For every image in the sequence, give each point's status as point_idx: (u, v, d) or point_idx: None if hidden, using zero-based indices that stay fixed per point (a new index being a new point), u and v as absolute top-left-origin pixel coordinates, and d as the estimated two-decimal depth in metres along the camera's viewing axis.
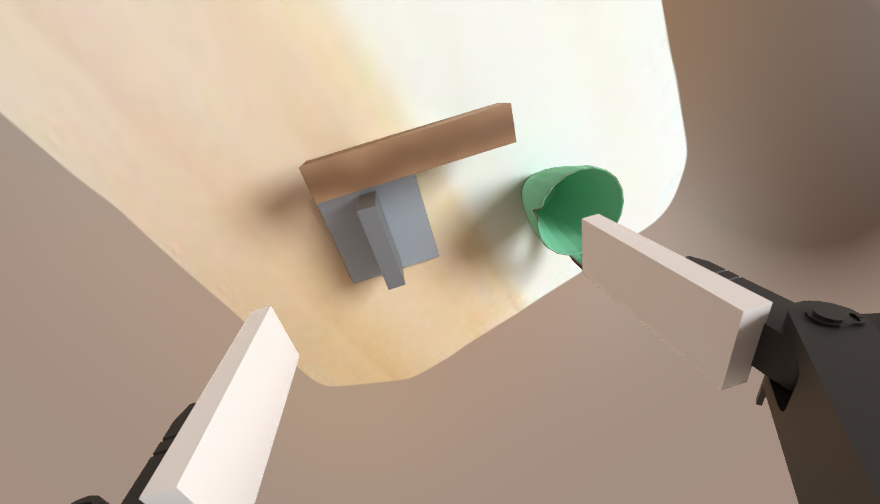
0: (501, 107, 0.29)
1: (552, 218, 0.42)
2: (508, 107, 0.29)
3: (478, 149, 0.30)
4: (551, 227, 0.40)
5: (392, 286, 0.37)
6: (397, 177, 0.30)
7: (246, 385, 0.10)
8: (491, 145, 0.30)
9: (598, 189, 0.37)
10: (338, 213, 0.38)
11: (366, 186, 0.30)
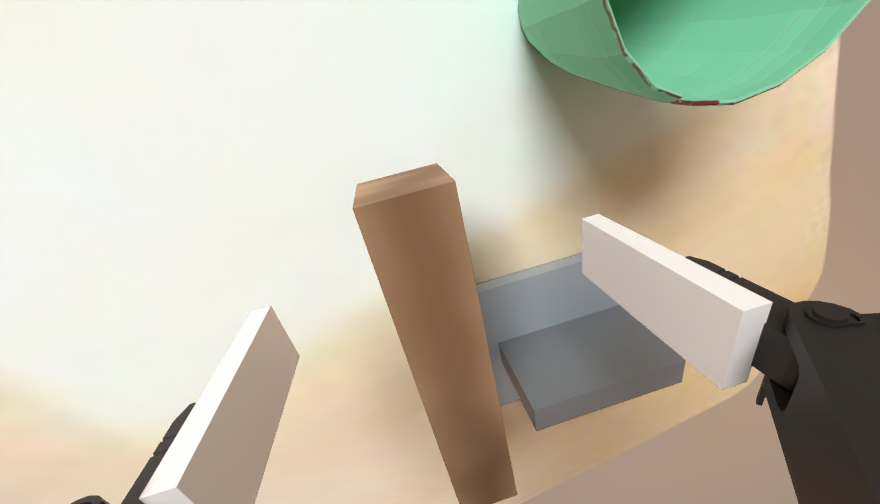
0: (364, 233, 0.11)
1: None
2: (363, 213, 0.11)
3: (464, 278, 0.12)
4: None
5: (678, 377, 0.20)
6: (498, 411, 0.16)
7: (246, 385, 0.10)
8: (458, 248, 0.12)
9: None
10: None
11: (504, 447, 0.17)
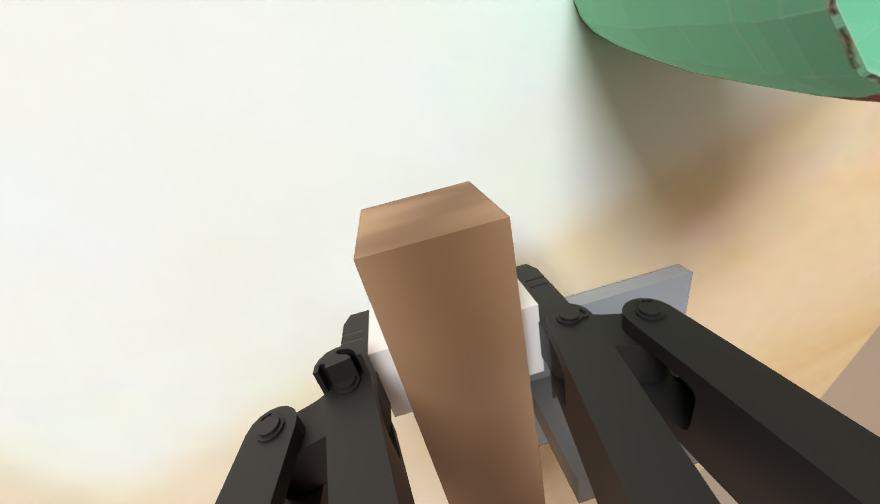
0: (372, 293, 0.07)
1: None
2: (370, 266, 0.07)
3: (512, 347, 0.09)
4: None
5: None
6: (541, 499, 0.12)
7: None
8: (506, 309, 0.08)
9: None
10: None
11: None
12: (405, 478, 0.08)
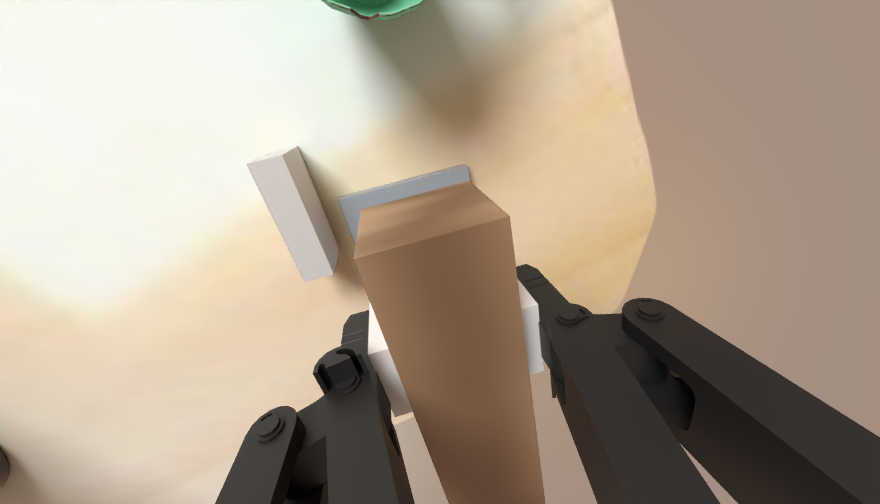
0: (371, 293, 0.07)
1: None
2: (370, 265, 0.07)
3: (512, 347, 0.09)
4: None
5: None
6: (541, 499, 0.12)
7: None
8: (506, 309, 0.08)
9: None
10: None
11: None
12: (405, 478, 0.08)
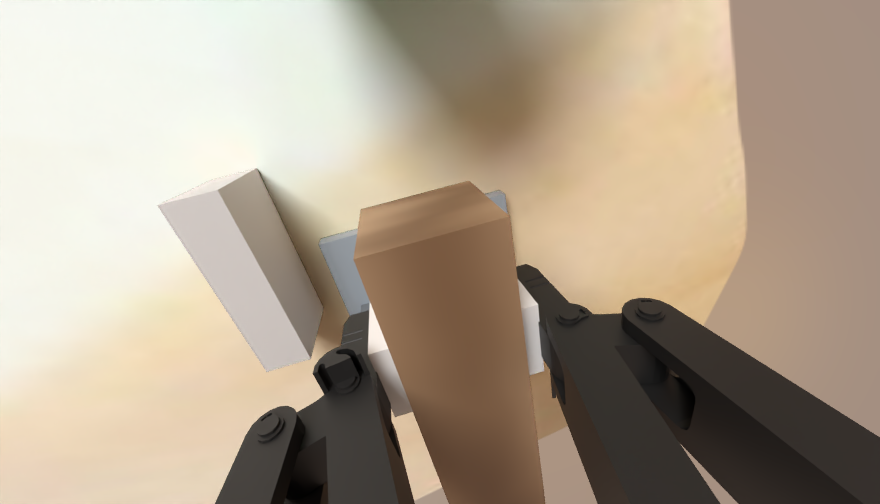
0: (371, 293, 0.07)
1: None
2: (370, 265, 0.07)
3: (512, 347, 0.09)
4: None
5: None
6: (541, 499, 0.12)
7: None
8: (506, 309, 0.08)
9: None
10: None
11: None
12: (405, 478, 0.08)
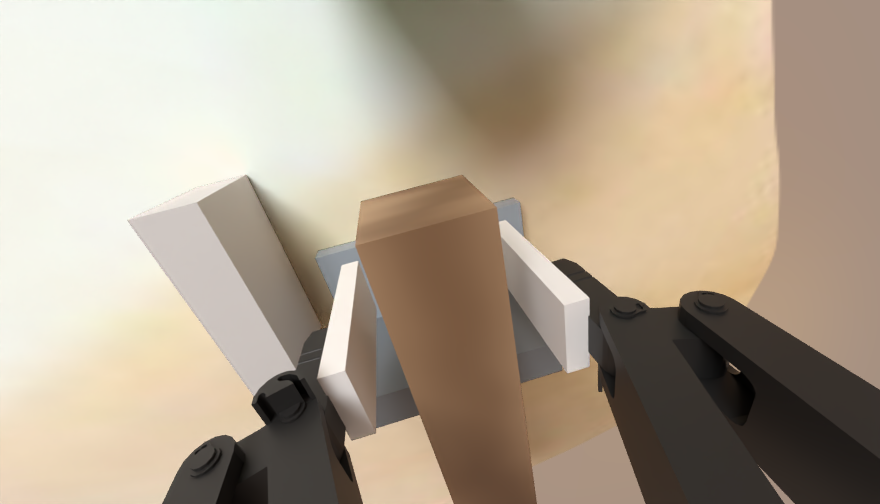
0: (371, 276, 0.08)
1: None
2: (370, 252, 0.08)
3: (500, 328, 0.09)
4: None
5: (556, 364, 0.16)
6: (529, 473, 0.13)
7: (358, 316, 0.11)
8: (494, 293, 0.09)
9: None
10: None
11: None
12: (358, 502, 0.07)
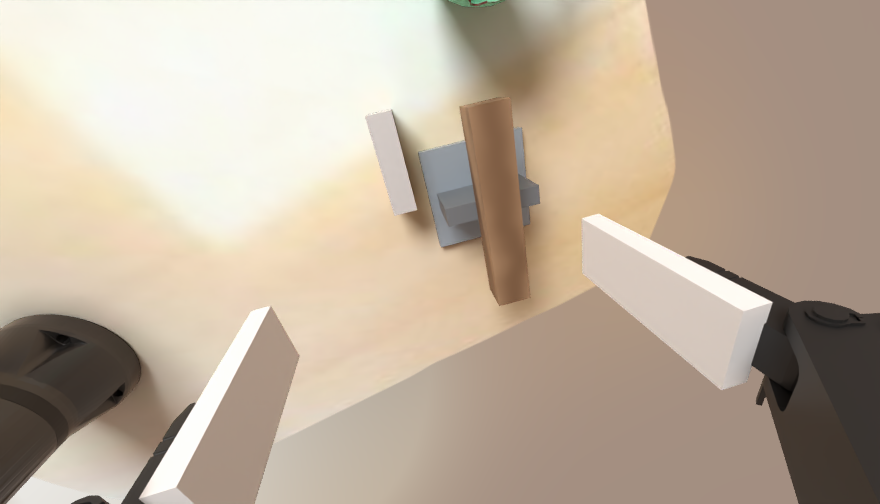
0: (471, 119, 0.26)
1: None
2: (472, 110, 0.26)
3: (510, 146, 0.27)
4: None
5: (537, 199, 0.34)
6: (522, 231, 0.31)
7: (246, 385, 0.10)
8: (509, 130, 0.27)
9: None
10: (455, 230, 0.40)
11: (524, 258, 0.32)
12: None
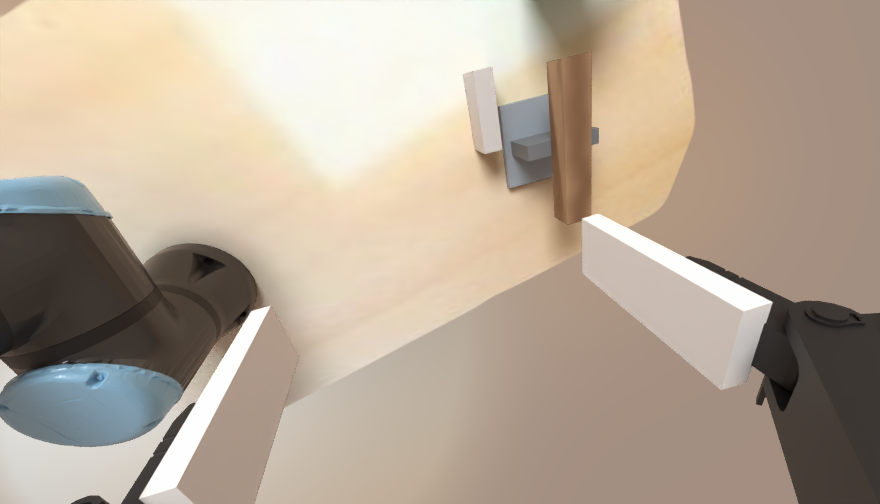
0: (563, 68, 0.35)
1: None
2: (564, 60, 0.35)
3: (588, 90, 0.37)
4: None
5: (596, 139, 0.43)
6: (590, 160, 0.40)
7: (246, 385, 0.10)
8: (588, 77, 0.36)
9: None
10: (522, 173, 0.49)
11: (590, 183, 0.42)
12: None
